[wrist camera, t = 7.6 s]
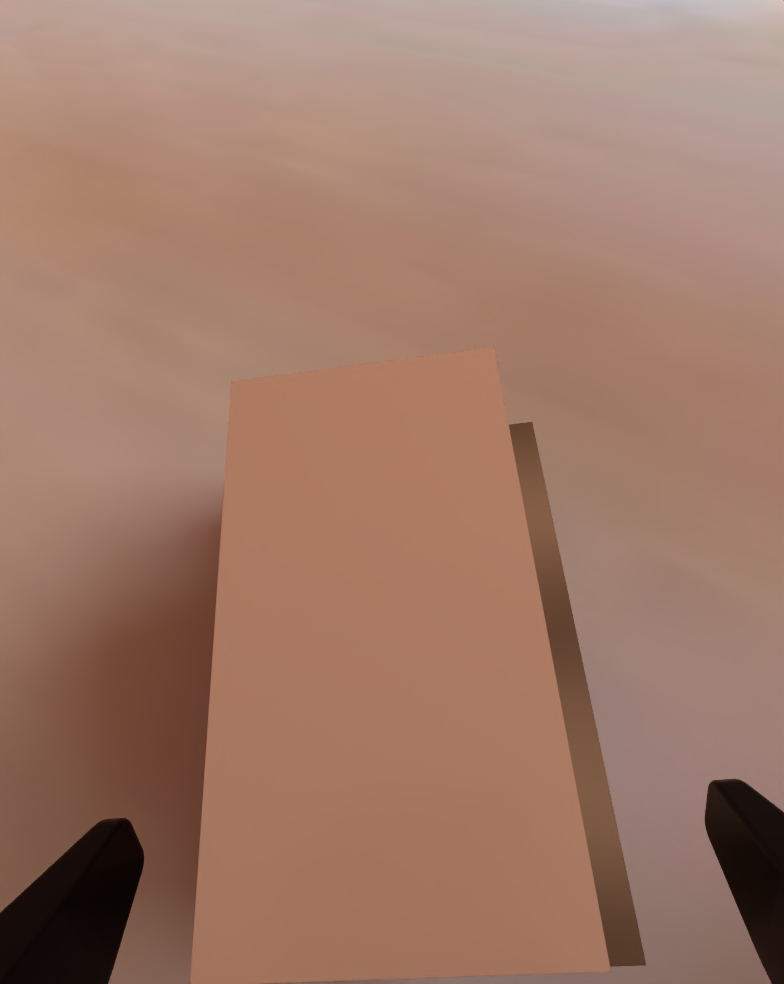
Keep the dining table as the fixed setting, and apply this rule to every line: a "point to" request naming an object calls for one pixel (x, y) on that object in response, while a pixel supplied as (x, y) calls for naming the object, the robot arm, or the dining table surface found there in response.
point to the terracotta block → (384, 694)
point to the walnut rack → (577, 713)
